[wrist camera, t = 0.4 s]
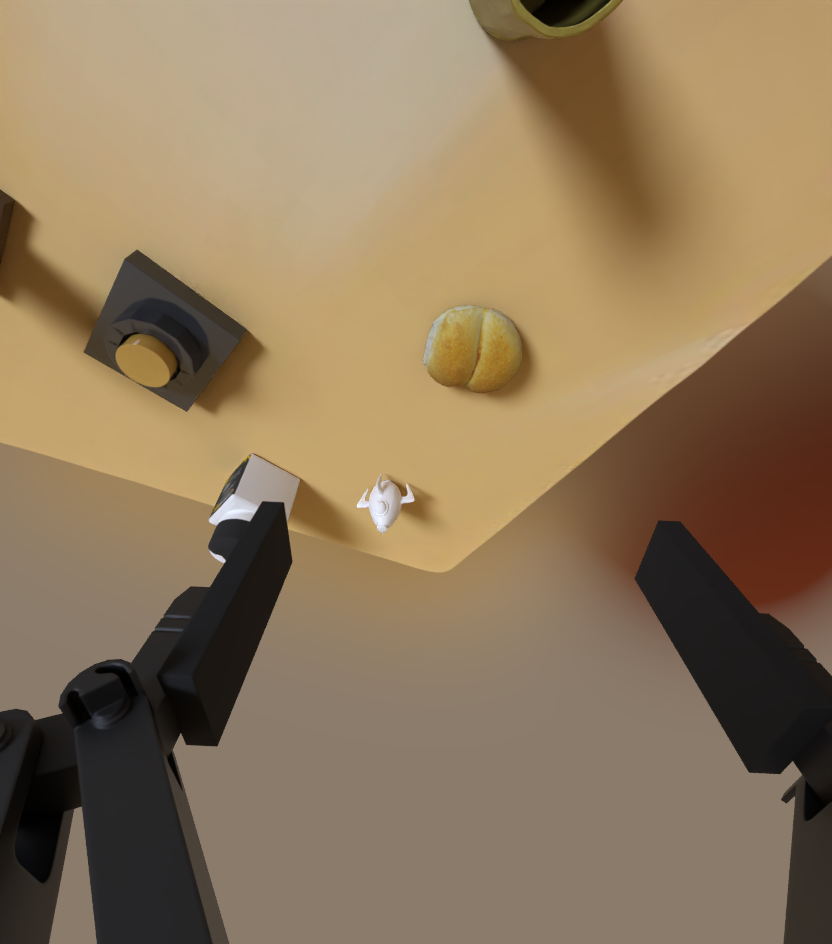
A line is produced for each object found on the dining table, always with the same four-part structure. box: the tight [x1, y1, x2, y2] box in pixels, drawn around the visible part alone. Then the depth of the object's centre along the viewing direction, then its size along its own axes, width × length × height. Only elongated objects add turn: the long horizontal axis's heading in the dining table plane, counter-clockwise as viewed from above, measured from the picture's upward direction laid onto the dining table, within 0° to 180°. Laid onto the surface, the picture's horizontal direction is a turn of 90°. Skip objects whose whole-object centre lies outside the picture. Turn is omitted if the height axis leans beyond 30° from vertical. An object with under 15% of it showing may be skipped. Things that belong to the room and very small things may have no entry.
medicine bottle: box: [208, 454, 300, 563], centre depth 51 cm, size 7×7×12 cm
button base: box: [84, 250, 246, 412], centre depth 39 cm, size 12×10×4 cm
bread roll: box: [423, 305, 522, 393], centre depth 39 cm, size 8×9×4 cm
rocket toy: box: [357, 473, 415, 533], centre depth 53 cm, size 5×5×8 cm
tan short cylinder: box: [116, 334, 178, 387], centre depth 37 cm, size 4×4×2 cm
